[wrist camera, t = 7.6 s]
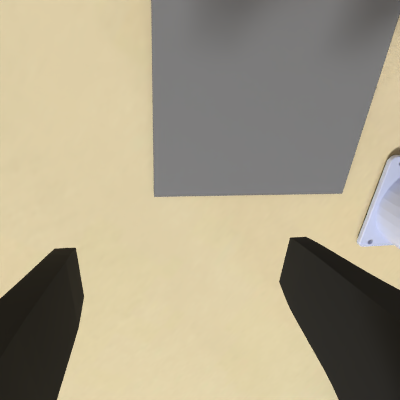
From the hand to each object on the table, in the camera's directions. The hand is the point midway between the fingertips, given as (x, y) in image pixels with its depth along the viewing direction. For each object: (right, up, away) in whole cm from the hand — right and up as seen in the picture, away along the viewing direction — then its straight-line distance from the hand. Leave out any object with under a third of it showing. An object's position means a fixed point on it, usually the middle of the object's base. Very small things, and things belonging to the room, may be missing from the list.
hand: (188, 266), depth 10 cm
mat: (+5, +8, +8) cm, 12 cm away
